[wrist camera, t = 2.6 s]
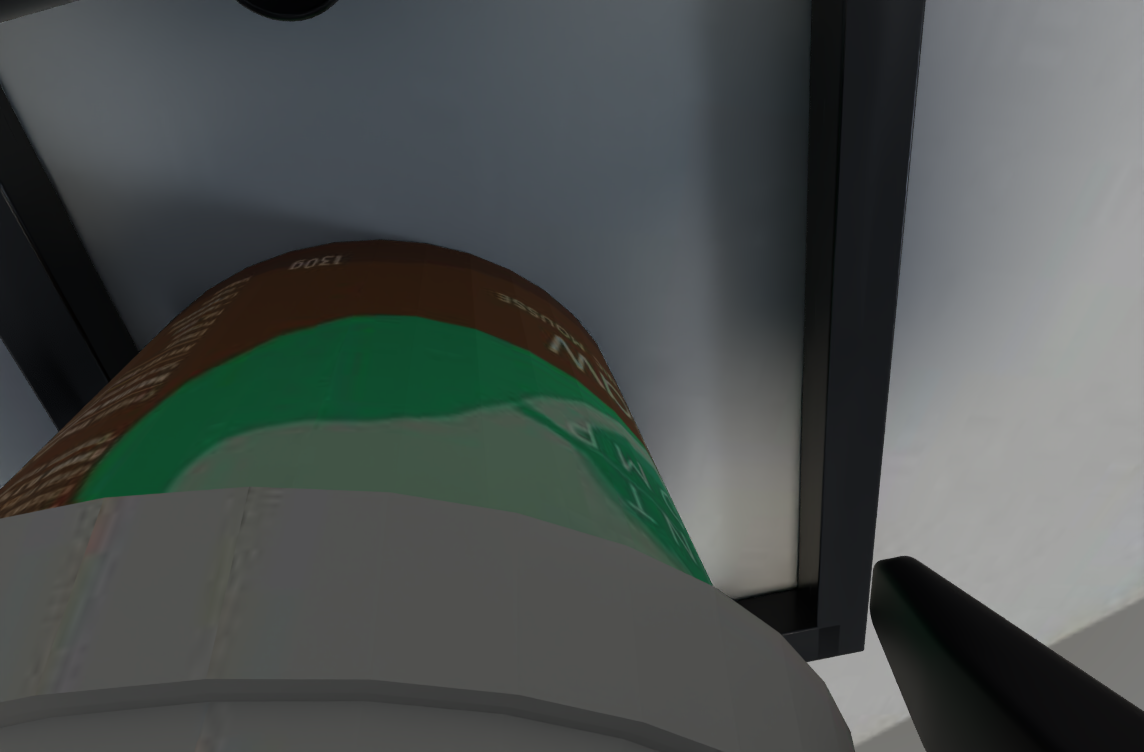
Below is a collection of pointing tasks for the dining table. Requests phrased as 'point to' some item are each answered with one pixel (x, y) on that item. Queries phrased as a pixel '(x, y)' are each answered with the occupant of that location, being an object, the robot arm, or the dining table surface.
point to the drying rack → (832, 295)
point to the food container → (374, 539)
